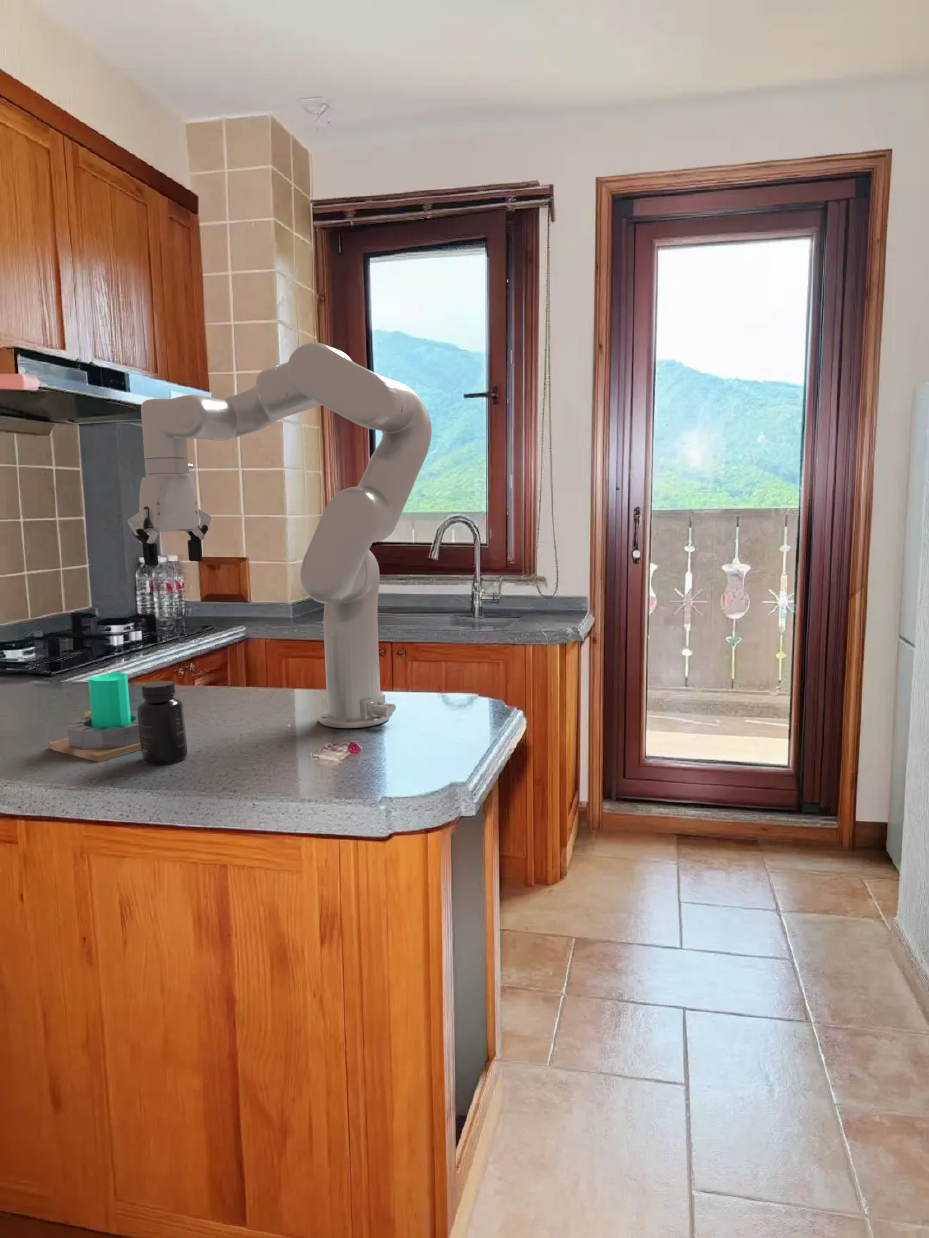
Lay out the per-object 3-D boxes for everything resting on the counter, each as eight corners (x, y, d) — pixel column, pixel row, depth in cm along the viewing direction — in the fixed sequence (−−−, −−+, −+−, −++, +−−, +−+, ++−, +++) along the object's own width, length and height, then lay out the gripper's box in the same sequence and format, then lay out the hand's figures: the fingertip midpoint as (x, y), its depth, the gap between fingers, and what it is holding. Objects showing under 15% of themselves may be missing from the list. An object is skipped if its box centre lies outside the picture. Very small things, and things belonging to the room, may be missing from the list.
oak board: (174, 739, 147) (173, 734, 147) (98, 761, 136) (98, 755, 136) (124, 728, 155) (123, 723, 155) (48, 748, 144) (48, 742, 144)
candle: (131, 731, 149) (126, 662, 147) (132, 740, 144) (126, 668, 142) (93, 736, 147) (87, 665, 145) (92, 745, 141) (86, 672, 140)
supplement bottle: (171, 750, 141) (166, 677, 139) (196, 757, 137) (191, 682, 135) (132, 760, 136) (126, 685, 134) (156, 768, 132) (150, 690, 130)
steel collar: (168, 734, 147) (167, 712, 146) (99, 754, 136) (97, 730, 136) (122, 724, 154) (121, 703, 154) (53, 742, 144) (51, 719, 143)
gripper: (193, 470, 168) (199, 559, 171) (112, 469, 154) (120, 566, 157) (219, 468, 164) (224, 560, 166) (138, 468, 150) (146, 568, 152)
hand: (174, 563), depth 162 cm, fingers open, 9 cm apart
